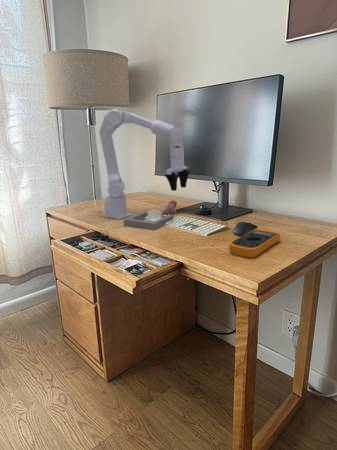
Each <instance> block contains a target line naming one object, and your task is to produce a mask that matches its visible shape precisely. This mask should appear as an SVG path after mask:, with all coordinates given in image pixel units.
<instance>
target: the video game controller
mask: <svg viewBox="0 0 337 450" xmlns="http://www.w3.org/2000/svg"><path fill="white" fill-rule="evenodd" d="M177 204H178V202H177V201H176V200H170V201H169V202H168V205H167V206H166V207H165V209H163V210H162V212H161V215H160V216H162V215H169V214H171V215H173V213H174V212H175V210H176V207H177V206H178V205H177Z"/></svg>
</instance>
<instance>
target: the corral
mask: <svg viewBox="0 0 337 450" xmlns="http://www.w3.org/2000/svg"><path fill="white" fill-rule="evenodd" d="M148 213H149V212H148V211H142V212H140V213H137V214H134V215H130V217H129V216H128V217H125V218H123V226H125V227H130V228H138V229H145V230H150V231H156V230H158V229H161V228H163V227H165V226H166V225H165V224H166V223H167V222H169V221H171V220H173V219H175V217H174V214H171V215H167V216H164V217H163V216H162V217H160V218H159V219H156V220H154V221H150V220H145V219H144V218H145V217H147V216H148V217H149V214H148ZM143 219H144V220H143Z"/></svg>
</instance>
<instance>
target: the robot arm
mask: <svg viewBox="0 0 337 450" xmlns="http://www.w3.org/2000/svg"><path fill="white" fill-rule="evenodd" d="M131 123H132V124H135V125H138V126H140V127H144V128H147V129H150V131H151V133H152V134H153V135H156V136H158V137H161V138H163V139H169V157H170V158H169V159H170V167H169V168H168V169H166V173H165V174H164V176H165V178H166V180H167V182H168V184H169V185H170V190H171V191H174V192H175V191H177V190H178V178H179V184H180V188H186V187H187V182H188V178H189V176H190V174H189V173H191V170H187V166H184V165H185V150H184V149H185V147H184V140H183V139H184V137H185V134H184V130H182V128H180V127H178V126H175V124H173V123H171V124H170V123H167V122H164V120H163V119H162V118H161V119H155V120H153V121H152V120H149V119H148V118H145V117H142V116H140V115H138V114H136V113H132V112H131V111H130V112H129V111H125V110H121V111H120V110H119V109H116V108H112V109H110V110H109V111H107V113H106V114H105V115H104V117H103V121H102V123H101V126H100V127H99V128H100V129H99V137H100V142H101V147H102V152H103V157H104V161H105V166H106V171H107V176H108V177H107V178H108V179H107V181H108V188H107V191H108V194H109V195H108V196H106V197H105V198H104V202H103V203H104V204H103V205H104V213H105V215H104V218H108V219H109V218H110V219H116V220H117V219H118V220H121V219H125V218H128V217H129V216H130V217H131V216H133V213H132V212H131V213H129V212H128V206H127V194H125V192H124V190H125V183H124V182H123V180H122V177H121V175H120V170H119V166H118V160H117V155H116V154H117V153H116V149H115V146H114V145H115V144H114V138H113V134H115V133H114V132H115V131H116V130H117V129H118V128H119V127H121V126H122V125H123V124H126V125H127V124H131ZM188 175H189V176H188Z"/></svg>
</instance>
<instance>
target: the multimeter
mask: <svg viewBox="0 0 337 450" xmlns="http://www.w3.org/2000/svg"><path fill="white" fill-rule="evenodd" d="M280 239H281V233H280V231H279V232H278V231H276V230H270V229H265V228H264V229H263V228H254V229H253V230H251V231H249V232H247V233H245V234H244V235H242V236H240V237H237V238H236V239H234V240H233V241H230V242H229V244H228V246H229V247H228V250H229V252H230V253H231V254H232V255H233V256H234V255H235V256H237V257H243V258H247V259H252V258H256V257H258V255H260V254H262V253H263V252H264V251H265V250H267V249H269V248H271V247H272V246H274V245H275V244H277V243H278V242H280Z"/></svg>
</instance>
